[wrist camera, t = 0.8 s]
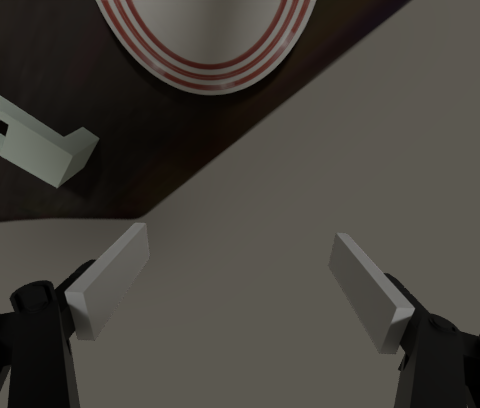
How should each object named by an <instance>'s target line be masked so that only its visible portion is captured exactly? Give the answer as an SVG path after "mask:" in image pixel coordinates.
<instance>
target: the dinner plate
mask: <svg viewBox="0 0 480 408" xmlns="http://www.w3.org/2000/svg"><path fill="white" fill-rule="evenodd" d="M96 2H97V4H98V6H99V8H100V10H101V12H102V14H103V16H104V18H105V19H106V21H107V23H108V24H109V26H110V28H111V29H112V31H113V32H114V34H115V35H116V36H117V38H118V39H119V41H120V42H121V43H122V45H123V46H124V47H125V48H126V49H127V51H128V52H129V53H130V54H131V55H132V56H133V57H134V58H135V59H136V60H137V61H138V62H139V63H140V64H141V65H142V66H143V67H144V68H145V69H147V70H148V71H149V72H150V73H152V74H153V75H154V76H156V77H157V78H159V79H160V80H162V81H164V82H165V83H167V84H169V85H171V86H173V87H175V88H178V89H180V90H183V91H186V92H190V93H195V94H201V95H222V94H228V93H232V92H236V91H239V90H242V89H244V88H247V87H249V86H251V85H253V84H254V83H256V82H258V81H259V80H261V79H262V78H264V77H265V76H266V75H268V74H269V73H270V72H271V71H272V70H274V69H275V68H276V67H277V66H278V65H279V64H280V63H281V61H282V60H283V59H284V58H285V57H286V56H287V54H288V53H289V52H290V51H291V49H292V48H293V46H294V45H295V43H296V42H297V40H298V39H299V37H300V35H301V33H302V32H303V30H304V28H305V26H306V24H307V22H308V20H309V17H310V15H311V13H312V10H313V8H314V5H315V2H316V0H96Z"/></svg>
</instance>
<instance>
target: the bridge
mask: <svg viewBox="0 0 480 408" xmlns="http://www.w3.org/2000/svg"><path fill="white" fill-rule="evenodd" d="M0 120H2V121H3V122H5V123H7V124H8V125H9V126H8V130H7V134H6V137H5V136H4V135H2V134H0V156H2V157H3V158H5V159H7V160H9V161H10V162H12V163H14V164H16V165H17V166H19V167H21V168H23V169H25V170H26V171H28V172H30V173H32V174H33V175H35V176H37V177H39V178H40V179H42V180H44V181H46V182H47V183H49V184H51V185H53V186H55V187H56V188H58V187H59V186H61V185H62V184H63V183H64V182H66V181H67V180H68V179H70V178H71V177H72V176H73V175H75V174H76V173H77V172H79V171H80V170H81V169H82V168H84V166H85V164H86V162H87V161H88V159H89V157H90V155H91V153H92V151H93V150H94V148H95V146H96V144H97V142H98V141H99V139H100V138H98V137H97V136H95V135H94V134H92V133H91V132H90V131H88V130H87V129H85V128H84V127H82V128H80V129H78V130H76V131H74V132H73V133H71V134H69V135H67V136H65V137H63V136H61V135H60V134H58V133H57V132H55V131H54V130H52V129H51V128H49V127H47V126H46V125H44V124H43V123H41V122H40V121H38V120H37V119H35V118H34V117H32V116H31V115H29V114H28V113H26V112H25V111H23V110H22V109H20V108H18V107H17V106H15V105H14V104H12V103H11V102H9V101H8V100H6V99H5V98H3V97H2V96H0Z"/></svg>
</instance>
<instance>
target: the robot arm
mask: <svg viewBox="0 0 480 408" xmlns="http://www.w3.org/2000/svg"><path fill="white" fill-rule="evenodd" d="M149 258H150V256H149V245H148V235H147V227H146V223H134V224H133V225H132V226H131V227H130V228H129V229H128V230H127V231H126V232H125V233H124V234H123V235H122V236H121V237H120V238H119V239H118V240H117V241H116V242H115V243H114V244H113V245H112V246H111V247H110V248H109V249H107V250H106V251H105V252H104V253H103V254H102V255H101V257H99V258H98V259H97V260H90V261H88V262H86V263H84V264H82V265H81V266H80V267H79V268H78V269H77V270H76V271H75V272H74V273H73V274H71V275H70V276H69V278H67V279H66V280H65V281H64V282H63V283H61V284H60V285H59V286H58V287H57V288H56V289H55V290H54V287H53V284H52V283H51V282H50V281H47V280H45V281H36V282H32V283H29V284H27V285H24V286H22V287H21V288H19V289H17V290H16V291H15V292H14V293H12V295H11V297H10V301H11V303H12V306H13V309H14V311H15V312H10V313H4V314H0V391H1V388H2V386H3V384H4V381H5V379H6V377H7V374H8V372H9V370H10V367H11V375H10V386H9V398H8V408H80V404H79V397H78V391H77V384H76V377H75V371H74V364H73V358H72V352H71V344H70V341H69V338H70V336H71V335H72V333H73V332H74V331H75V332H76V335H77V339H78V340H94V341H95V339H96V338H97V336H98V335H99V333H100V332H101V330H102V329H103V327H104V326H105V324H106V323H107V321H108V320H109V318H110V317H111V314H112V313H113V312H114V311H115V309H116V307H117V306H118V304H119V303H120V301H121V300H122V298H123V297H124V295H125V294H126V292H127V291H128V289H129V288H130V286H131V285H132V283H133V282H134V280H135V279H136V277H137V276H138V274H139V273H140V271H141V270H142V268H143V267H144V265H145V263H146V262H147V260H148V259H149ZM329 268H330V270H331V271H332V273H333V274H334V276H335V278H336V280H337V281H338V283H339V285H340V287H341V288H342V290H343V292H344V293H345V295H346V297H347V299H348V300H349V302H350V304H351V306H352V307H353V309H354V311H355V312H356V314H357V316H358V318H359V319H360V321H361V323H362V324H363V326H364V328H365V330H366V331H367V333H368V335H369V336H370V338H371V340H372V342H373V343H374V345H375V347H376V348H377V350H378V352H379V353H382V354H383V353H384V354H396V352H397V350H398V347H399V345H401V347H402V348H403V350H404V351H405V355H404V357H403V359H402V362H401V364H400V366H399V368H398V370H400V371H401V372H400V378H399V383H398V389H397V394H396V399H395V405H394V408H467V406H468V408H480V335H479V336H475V335H471V334H468V333H465V332H461V331H459V330H458V328H457V327H456V326H455V325H454V324H452V323H451V322H450V321H448V320H446V319H445V318H443V317H441V316H438V315H435V314H430V313H429V312H428V311H427V310H426V309H425V308H424V307H423V306H422V305H421V304H420V303H419V302H418V301H417V299H416V298H415V297H414V296H413V295H412V294H410V292H409V291H408V290H407V289H406V288H404V286H403V285H402V284H401V283H400V282H399V281H398V280H397V279H396V278H394V277H393V276H391V275H390V274H388V273H383V272H382V271H381V270H380V269H379V268H378V267H377V266H376V265H375V264H374V263H373V261H371V259H370V258H369V257H368V256H367V255H366V254H365V253H364V252H363V250H362V249H361V248H360V247H359V246H358V245H357V244H356V243H355V242H354V241H353V239H352V238H351V237H350V236H349V235H348V234H347V233H336V235H335V239H334V244H333V248H332V253H331V257H330V261H329Z"/></svg>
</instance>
